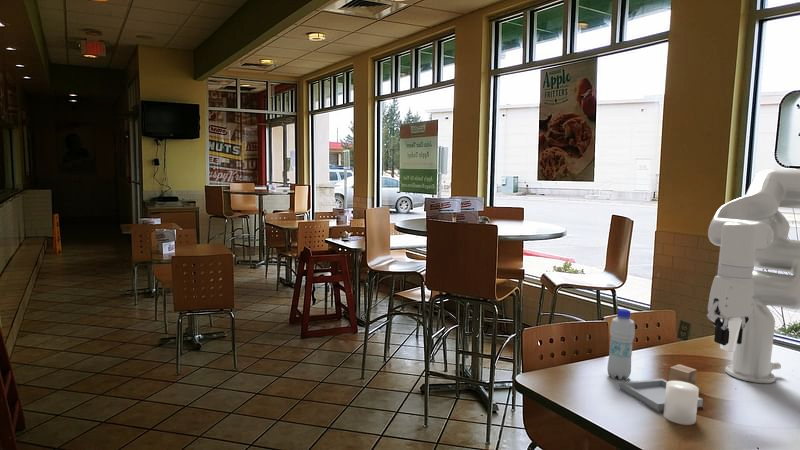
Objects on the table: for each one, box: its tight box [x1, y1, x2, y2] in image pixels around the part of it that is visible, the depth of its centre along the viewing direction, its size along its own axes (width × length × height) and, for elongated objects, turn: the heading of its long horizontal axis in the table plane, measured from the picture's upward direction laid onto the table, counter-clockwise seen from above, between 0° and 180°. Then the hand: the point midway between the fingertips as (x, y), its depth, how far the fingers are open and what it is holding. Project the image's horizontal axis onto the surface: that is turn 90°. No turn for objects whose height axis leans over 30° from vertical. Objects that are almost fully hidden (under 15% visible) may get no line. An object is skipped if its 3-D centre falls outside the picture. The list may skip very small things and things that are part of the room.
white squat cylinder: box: [663, 380, 700, 426], centre depth 135 cm, size 7×7×8 cm
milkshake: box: [719, 317, 742, 353], centre depth 141 cm, size 4×5×10 cm
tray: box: [619, 378, 704, 413], centre depth 147 cm, size 14×14×2 cm
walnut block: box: [668, 363, 698, 386], centre depth 156 cm, size 5×5×5 cm
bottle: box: [606, 308, 636, 381], centre depth 160 cm, size 7×7×20 cm
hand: (727, 342), depth 141 cm, fingers closed on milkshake, 4 cm apart
